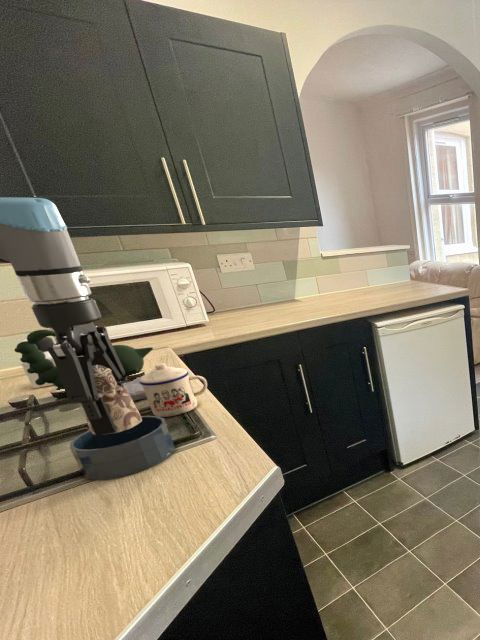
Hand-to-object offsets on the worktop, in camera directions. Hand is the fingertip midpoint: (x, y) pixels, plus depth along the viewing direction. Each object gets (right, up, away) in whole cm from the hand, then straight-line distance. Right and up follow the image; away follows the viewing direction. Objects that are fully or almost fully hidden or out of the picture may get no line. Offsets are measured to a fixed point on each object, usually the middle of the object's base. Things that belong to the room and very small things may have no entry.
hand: (116, 423), depth 78 cm
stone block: (-24, +4, +33) cm, 41 cm away
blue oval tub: (0, -7, +3) cm, 8 cm away
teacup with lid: (-7, +1, +25) cm, 26 cm away
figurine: (0, -1, 0) cm, 1 cm away
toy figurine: (-40, +6, +39) cm, 56 cm away
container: (-60, +8, +44) cm, 75 cm away
